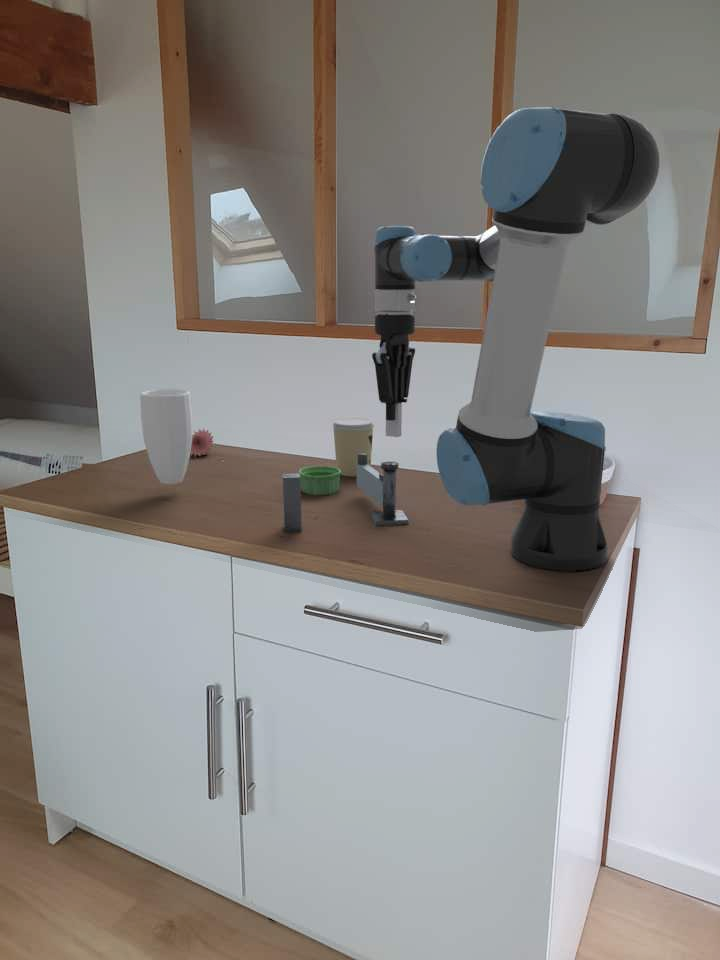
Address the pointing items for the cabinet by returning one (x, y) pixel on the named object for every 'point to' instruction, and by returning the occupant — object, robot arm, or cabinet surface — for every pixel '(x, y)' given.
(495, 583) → the cabinet surface
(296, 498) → the stile
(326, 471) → the ramekin
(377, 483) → the gate
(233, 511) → the cabinet surface
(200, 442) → the flower
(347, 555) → the cabinet surface
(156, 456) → the cup
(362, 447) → the coffee cup
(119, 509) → the cabinet surface
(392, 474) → the pivot post
